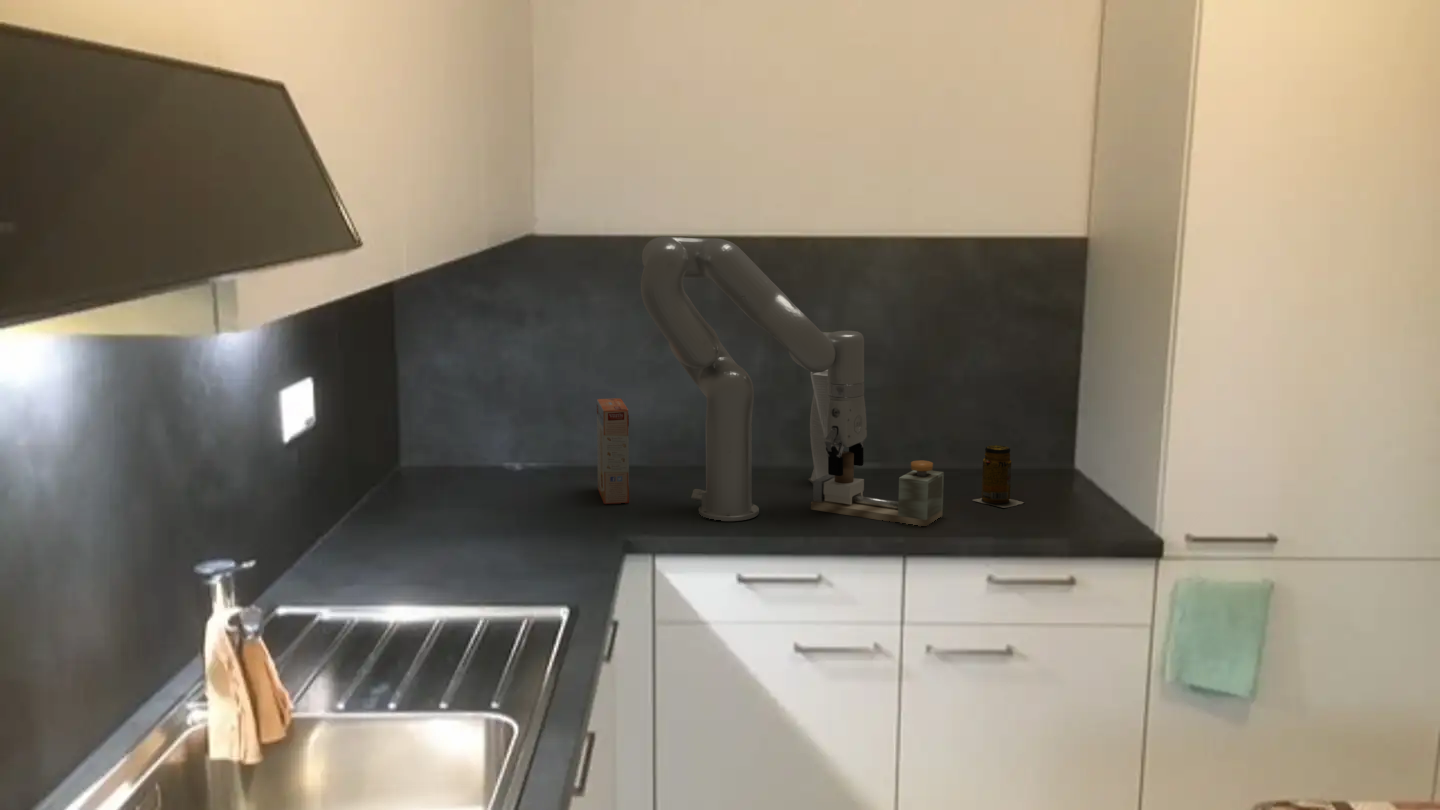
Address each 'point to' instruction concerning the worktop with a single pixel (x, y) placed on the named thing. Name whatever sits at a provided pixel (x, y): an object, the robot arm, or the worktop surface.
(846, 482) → the carriage
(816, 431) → the skyscraper
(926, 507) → the rail base
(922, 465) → the button
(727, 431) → the robot arm
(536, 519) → the worktop surface
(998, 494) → the condiment
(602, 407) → the cracker box
